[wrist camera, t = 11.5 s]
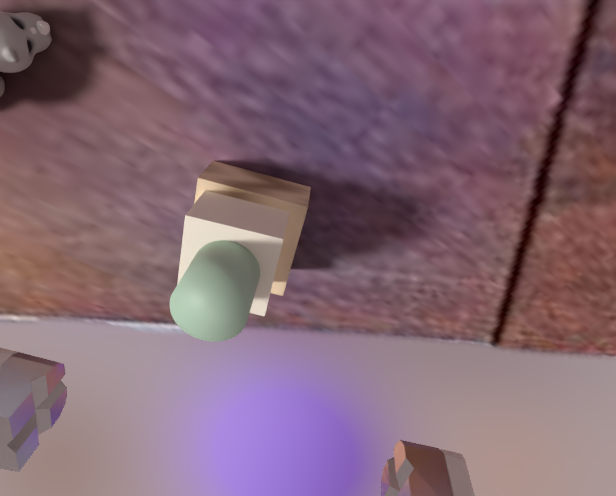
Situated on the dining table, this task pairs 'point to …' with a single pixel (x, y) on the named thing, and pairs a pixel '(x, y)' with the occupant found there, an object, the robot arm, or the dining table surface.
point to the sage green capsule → (216, 291)
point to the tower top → (237, 235)
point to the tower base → (265, 193)
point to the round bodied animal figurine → (21, 41)
